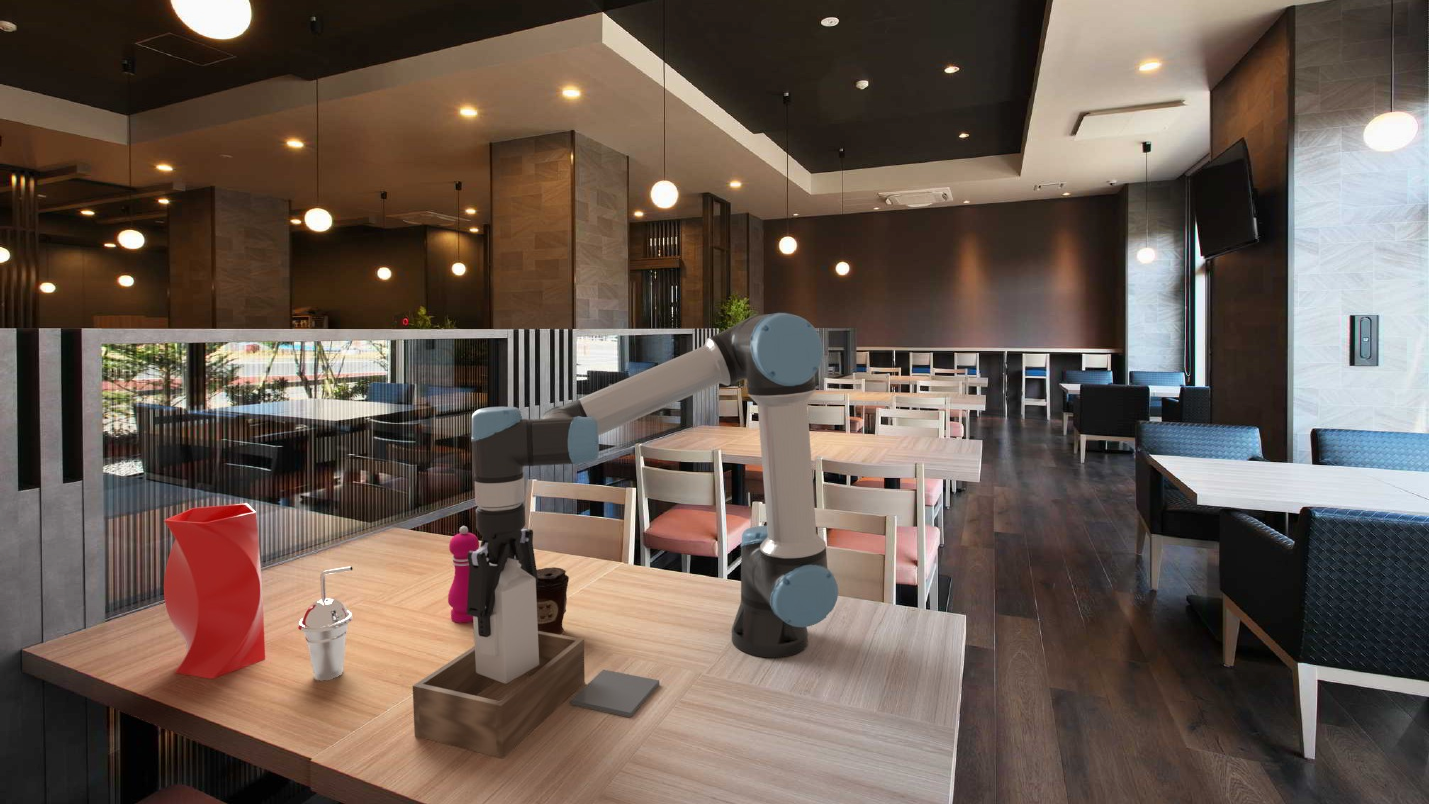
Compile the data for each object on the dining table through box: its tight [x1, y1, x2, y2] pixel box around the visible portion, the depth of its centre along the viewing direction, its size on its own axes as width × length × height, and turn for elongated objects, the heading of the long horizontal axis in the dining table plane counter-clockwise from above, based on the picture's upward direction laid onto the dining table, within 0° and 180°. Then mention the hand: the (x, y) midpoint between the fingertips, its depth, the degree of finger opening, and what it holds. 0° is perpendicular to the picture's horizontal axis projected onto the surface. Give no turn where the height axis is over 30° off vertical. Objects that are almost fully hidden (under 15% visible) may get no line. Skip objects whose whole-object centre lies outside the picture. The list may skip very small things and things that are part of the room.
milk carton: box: [472, 558, 539, 685], centre depth 112 cm, size 7×7×19 cm
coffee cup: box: [536, 567, 570, 635], centre depth 141 cm, size 9×8×13 cm
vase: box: [163, 503, 266, 680], centre depth 129 cm, size 15×14×28 cm
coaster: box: [570, 669, 660, 718], centre depth 118 cm, size 11×11×1 cm
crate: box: [412, 631, 586, 759], centre depth 113 cm, size 16×23×8 cm
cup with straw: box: [297, 566, 354, 682], centre depth 123 cm, size 8×9×20 cm
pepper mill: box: [447, 525, 480, 624], centre depth 148 cm, size 7×7×20 cm
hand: (506, 641), depth 113 cm, fingers closed on milk carton, 8 cm apart
